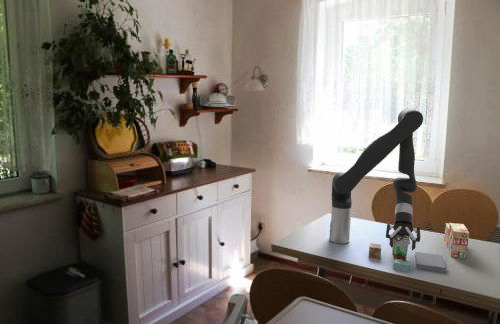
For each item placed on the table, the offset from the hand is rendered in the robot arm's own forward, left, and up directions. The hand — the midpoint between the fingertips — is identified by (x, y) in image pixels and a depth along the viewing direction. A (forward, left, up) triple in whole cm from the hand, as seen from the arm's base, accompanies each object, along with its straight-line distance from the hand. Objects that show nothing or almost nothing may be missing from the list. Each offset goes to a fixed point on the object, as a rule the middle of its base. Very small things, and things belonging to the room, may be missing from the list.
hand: (402, 248), depth 179 cm
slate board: (+11, 0, -5) cm, 12 cm away
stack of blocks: (+24, +22, -6) cm, 33 cm away
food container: (0, +1, -5) cm, 5 cm away
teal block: (0, -10, -6) cm, 11 cm away
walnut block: (-11, 0, -5) cm, 12 cm away
